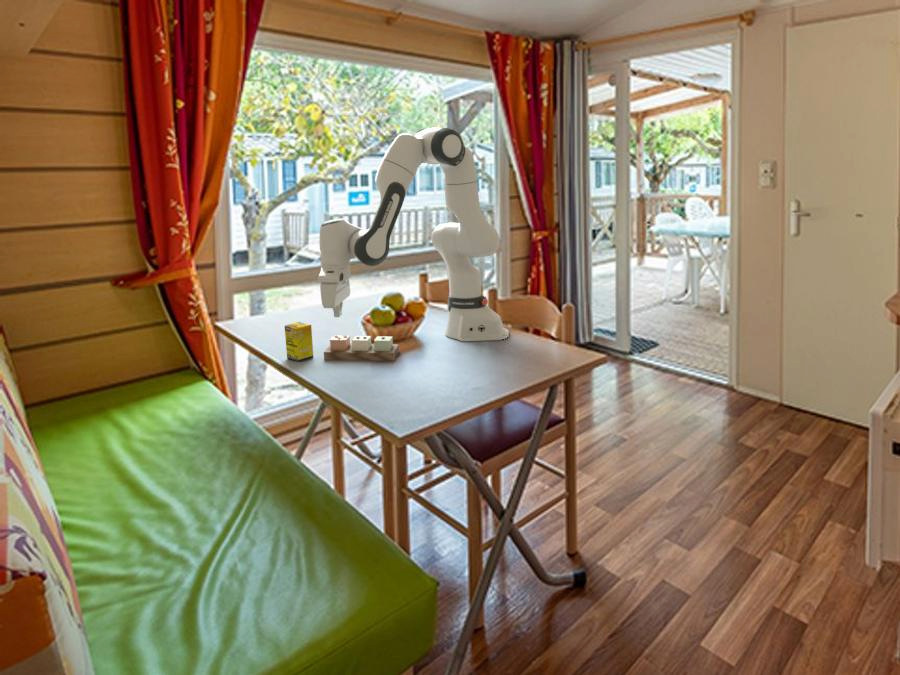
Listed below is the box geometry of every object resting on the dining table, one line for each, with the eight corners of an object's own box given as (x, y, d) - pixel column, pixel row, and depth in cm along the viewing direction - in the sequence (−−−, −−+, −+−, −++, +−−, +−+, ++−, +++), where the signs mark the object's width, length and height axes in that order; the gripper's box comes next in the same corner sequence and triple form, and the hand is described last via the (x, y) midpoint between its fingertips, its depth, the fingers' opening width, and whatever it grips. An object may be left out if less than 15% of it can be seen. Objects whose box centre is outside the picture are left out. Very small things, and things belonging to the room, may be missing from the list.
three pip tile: (350, 347, 202) (349, 334, 201) (346, 352, 197) (345, 339, 196) (335, 347, 202) (334, 334, 201) (330, 352, 198) (329, 338, 196)
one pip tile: (393, 348, 201) (392, 335, 199) (390, 353, 196) (389, 339, 195) (377, 348, 201) (377, 335, 200) (374, 352, 196) (373, 339, 195)
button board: (399, 351, 203) (398, 344, 203) (393, 361, 194) (393, 353, 193) (332, 350, 205) (332, 343, 205) (324, 359, 196) (323, 352, 195)
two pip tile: (371, 348, 201) (370, 335, 200) (368, 352, 196) (367, 339, 195) (356, 347, 202) (355, 335, 201) (352, 352, 197) (351, 339, 196)
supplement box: (286, 359, 197) (283, 325, 194) (301, 354, 202) (299, 321, 199) (298, 362, 194) (296, 328, 191) (313, 357, 198) (311, 324, 195)
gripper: (334, 267, 203) (336, 308, 207) (316, 278, 184) (318, 323, 187) (353, 267, 203) (355, 309, 206) (337, 278, 183) (339, 324, 187)
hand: (338, 316), depth 197 cm, fingers closed
